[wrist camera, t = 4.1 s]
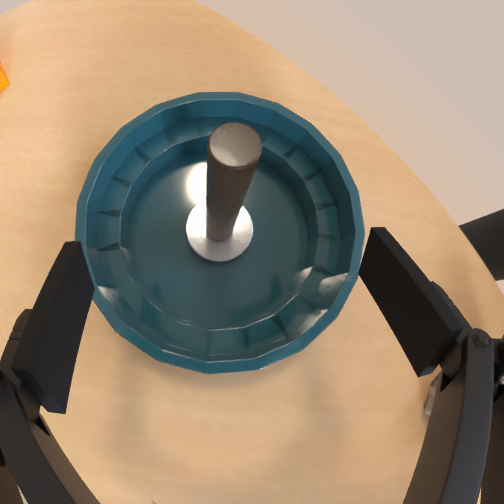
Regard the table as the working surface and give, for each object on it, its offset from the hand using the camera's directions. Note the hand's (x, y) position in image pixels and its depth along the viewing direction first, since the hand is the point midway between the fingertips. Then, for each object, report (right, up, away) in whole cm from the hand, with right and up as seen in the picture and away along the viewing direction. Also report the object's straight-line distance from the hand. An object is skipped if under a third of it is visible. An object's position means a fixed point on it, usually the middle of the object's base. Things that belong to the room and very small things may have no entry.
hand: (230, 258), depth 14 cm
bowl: (-2, +2, +11) cm, 12 cm away
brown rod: (-2, +2, +11) cm, 11 cm away
